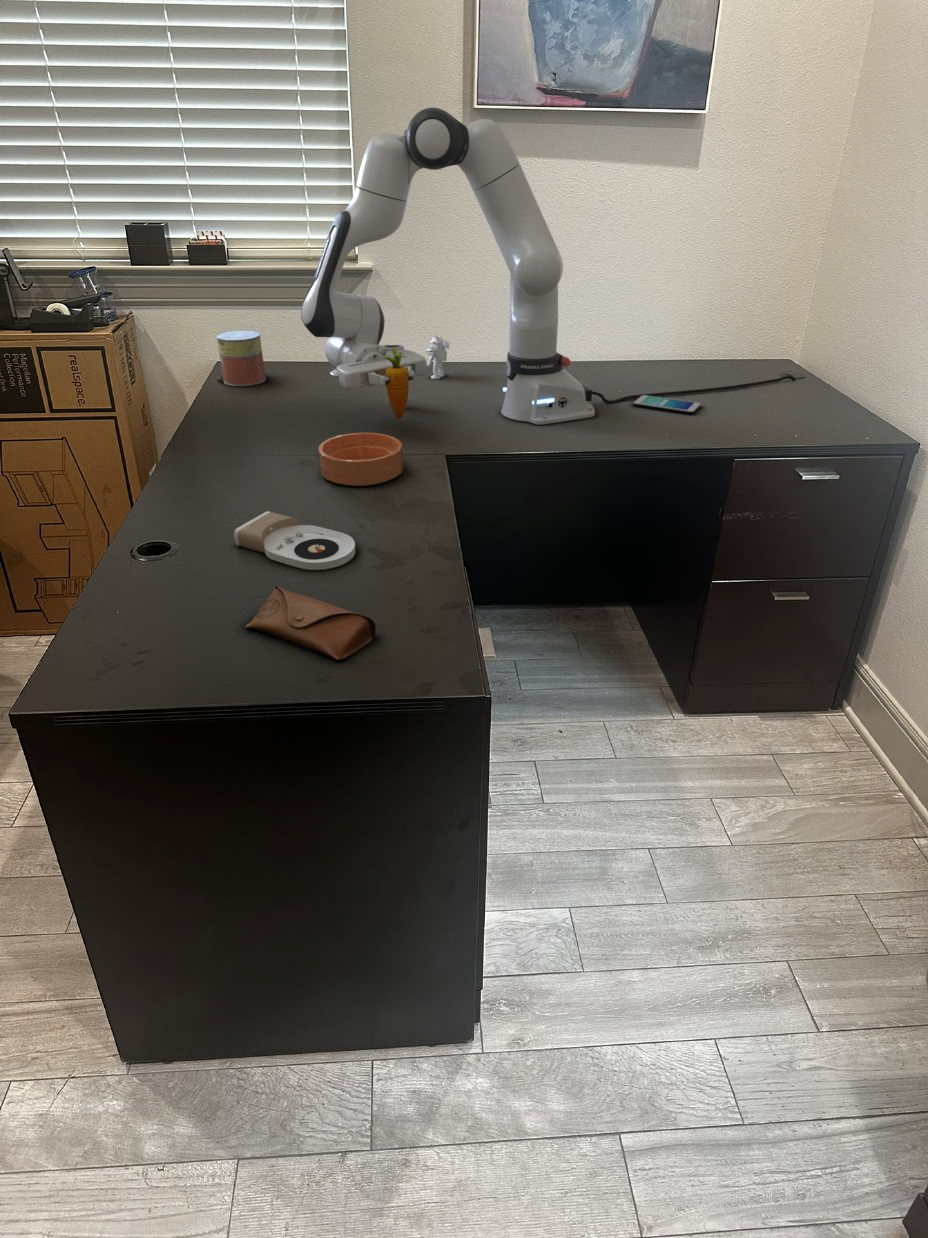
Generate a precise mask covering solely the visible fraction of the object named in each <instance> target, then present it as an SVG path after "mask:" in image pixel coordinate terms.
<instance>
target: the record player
mask: <svg viewBox="0 0 928 1238" xmlns="http://www.w3.org/2000/svg"><path fill="white" fill-rule="evenodd" d="M233 537H234V538H233V539H234V543H235V545H236V546H239V547H242V548H246V549H249V550H253V551H256V552H258V553H259V552H260V553H262V554H263V553H264V554H265V556H266V557H267V558H268V559H270V560H272V561H275V562H277V563H278V562H279V563H280V564H284V565H288V566H292V567H295V568H298V569H303V570H307V571H308V570H309V571H320V570H328V569H334V568H337V567H340V566H343V565H344V564H347V563H349V562H350V561H351V560H352V559H353V558H355V557H354V556H355V555H356V542H355V540H354V539H353V537H352V536H350V535H348V534H346V533H344V532H340V531H337V530H333V529H329V528H326V527H321V526H317V525H310V524H309V525H308V524H299V520H298V519H296V518H295V517H291V516H288V515H284V514H279V513H276V512H272V511H268V510H266V511H264V512H263V513H261V514H259V515H258V516H256V517H254V518H251V520H249V521H247V522H245V523H244V524H242V525H240V526H238V527H236V528H235V530H234V532H233Z"/></svg>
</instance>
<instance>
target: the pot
mask: <svg viewBox="0 0 928 1238" xmlns="http://www.w3.org/2000/svg"><path fill="white" fill-rule="evenodd" d="M318 459H319V460H318V461H319V468H320V475H321V477H323V478H324V479H325V480H327V481H329V482H332V483H334V484H339V485H344V486H352V487H364V486H373V485H379V484H382V483H386V482H389V481H391V480H393V479H396V478H397V477H398V476H399V475H401V474H402V472H403V470H404V452H403V444H402V442H401V440H399V439H398V438H396V437H395V436H393V435H389V434H385V433H378V432H353V433H351V432H350V433H344V434H339V435H336V436H332V437H329V438H327V439H326V440H324V441H322V442H321V443H320V444H319V446H318Z"/></svg>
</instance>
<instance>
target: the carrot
mask: <svg viewBox="0 0 928 1238" xmlns="http://www.w3.org/2000/svg"><path fill="white" fill-rule="evenodd" d="M392 352H393V355H394V358H395V359H394V358H391V357H389V356H385V358H386V359H388V360H389V361H390V362H391V363H392V365H393V366H391V367H389V368H387V369H386V376H388V377H389V385H387V386H386V390H387V391H386V393H387V396H388V400H389V404H390V407H391V409H392V411H393V413H394V416H395V417H396V419H398V420H401V419H402V418H403V416H404V414H405V411H406V408H407V405H408V404H407V403H408V398H409V381H408V372H407V369H406V368H405V367H403V366H399V365H400V361H401V357H402V353H401V352H399V355H398V354H397V351H396V349H395V348H392Z"/></svg>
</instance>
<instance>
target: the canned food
mask: <svg viewBox="0 0 928 1238" xmlns="http://www.w3.org/2000/svg"><path fill="white" fill-rule="evenodd" d="M216 340H217V346H218V352H219V353H218V354H219V359H220V366H221V371H222V378H223V383H224V384H225V385H226V386H230V387H248V386H255V385H260V384H262V383H264V382H265V381H266V380H267V377H266V372H265V363H264V357H263V356H264V355H263V349H262V341H261V333H260V332H259V331H256V330H248V329H247V330H246V329H242V330H241V329H240V330H229V331H224V332H221V333H218V334H217V335H216Z"/></svg>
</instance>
